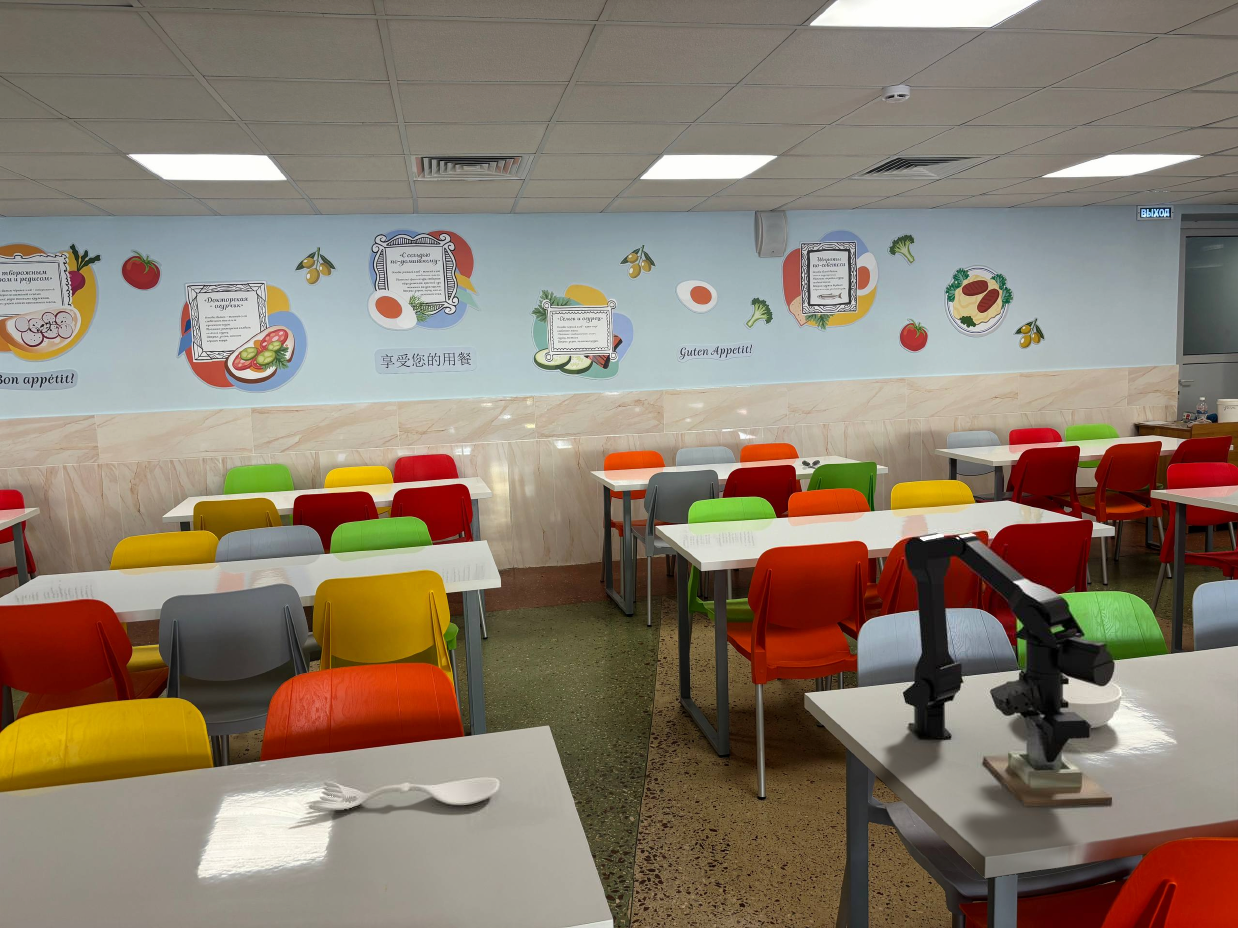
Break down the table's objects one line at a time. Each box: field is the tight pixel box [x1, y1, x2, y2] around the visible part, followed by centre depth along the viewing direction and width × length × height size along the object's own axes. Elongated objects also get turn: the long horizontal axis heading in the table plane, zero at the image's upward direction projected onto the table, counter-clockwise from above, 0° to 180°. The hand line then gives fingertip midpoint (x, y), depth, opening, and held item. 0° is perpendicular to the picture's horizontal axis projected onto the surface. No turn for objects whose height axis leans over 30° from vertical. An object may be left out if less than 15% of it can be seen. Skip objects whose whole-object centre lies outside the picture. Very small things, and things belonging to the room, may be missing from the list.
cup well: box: [982, 750, 1113, 808], centre depth 141 cm, size 16×14×4 cm
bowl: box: [1060, 674, 1123, 729], centre depth 165 cm, size 18×18×7 cm
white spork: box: [308, 777, 500, 811], centre depth 145 cm, size 9×32×4 cm, turn 92°
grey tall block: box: [1025, 715, 1063, 771], centre depth 141 cm, size 4×4×9 cm
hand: (1043, 755), depth 141 cm, fingers closed on grey tall block, 4 cm apart
